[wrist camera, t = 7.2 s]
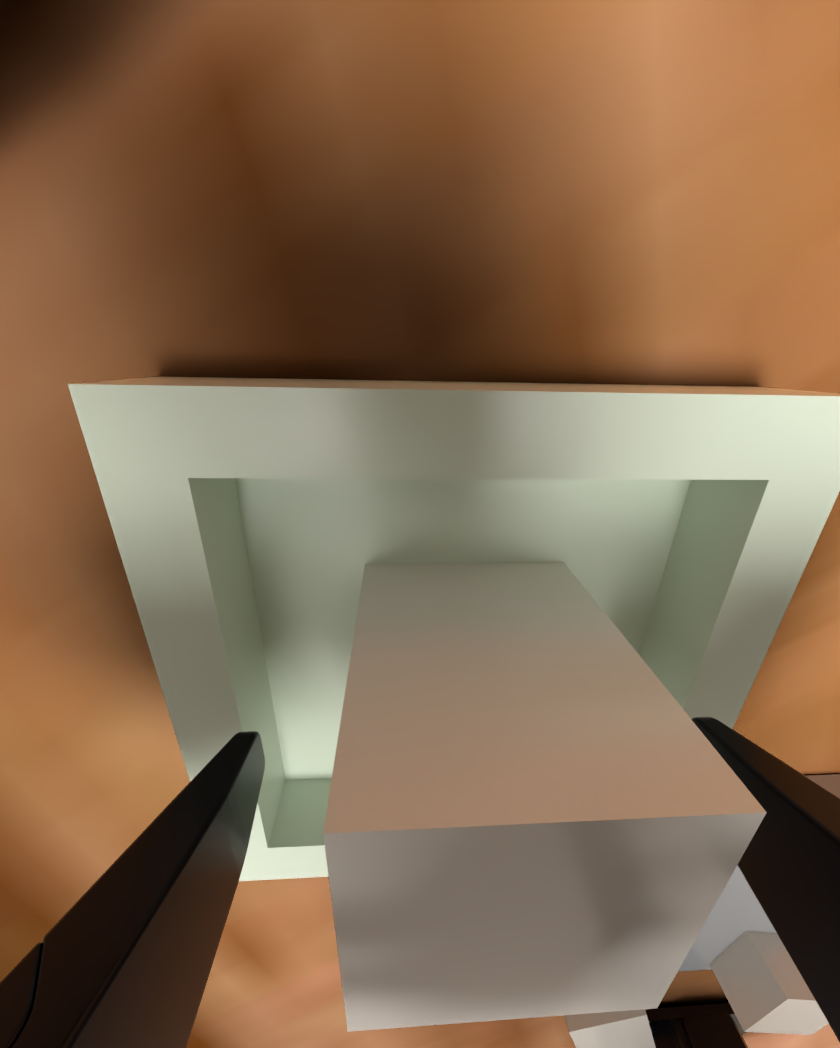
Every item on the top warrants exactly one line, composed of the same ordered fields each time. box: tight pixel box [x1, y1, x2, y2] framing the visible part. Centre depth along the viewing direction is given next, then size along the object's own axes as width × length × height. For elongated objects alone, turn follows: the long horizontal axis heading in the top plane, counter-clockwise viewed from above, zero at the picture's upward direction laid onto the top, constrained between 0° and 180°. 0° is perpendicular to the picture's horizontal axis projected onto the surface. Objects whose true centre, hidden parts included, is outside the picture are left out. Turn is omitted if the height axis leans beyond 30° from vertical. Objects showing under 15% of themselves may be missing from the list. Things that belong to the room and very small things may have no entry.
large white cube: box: [323, 562, 767, 1032], centre depth 8 cm, size 5×5×6 cm
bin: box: [68, 376, 840, 881], centre depth 10 cm, size 14×14×2 cm
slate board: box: [565, 774, 840, 1048], centre depth 16 cm, size 13×12×3 cm
